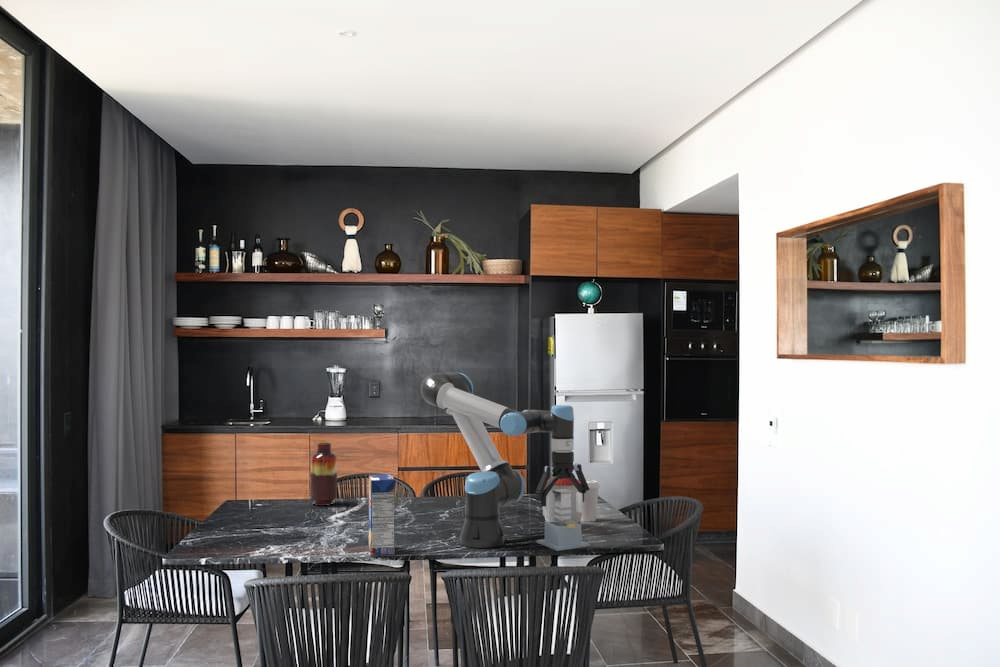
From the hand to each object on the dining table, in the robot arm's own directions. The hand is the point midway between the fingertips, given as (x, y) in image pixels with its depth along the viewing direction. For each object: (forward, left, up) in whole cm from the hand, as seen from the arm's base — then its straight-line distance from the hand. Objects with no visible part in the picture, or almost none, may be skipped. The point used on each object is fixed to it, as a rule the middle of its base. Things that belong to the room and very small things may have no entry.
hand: (562, 513), depth 261 cm
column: (0, 0, -10) cm, 10 cm away
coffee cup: (+30, +28, -10) cm, 42 cm away
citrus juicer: (+15, +23, -10) cm, 29 cm away
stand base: (0, 0, -10) cm, 10 cm away
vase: (-51, +109, -10) cm, 121 cm away
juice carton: (-57, +21, -10) cm, 62 cm away
